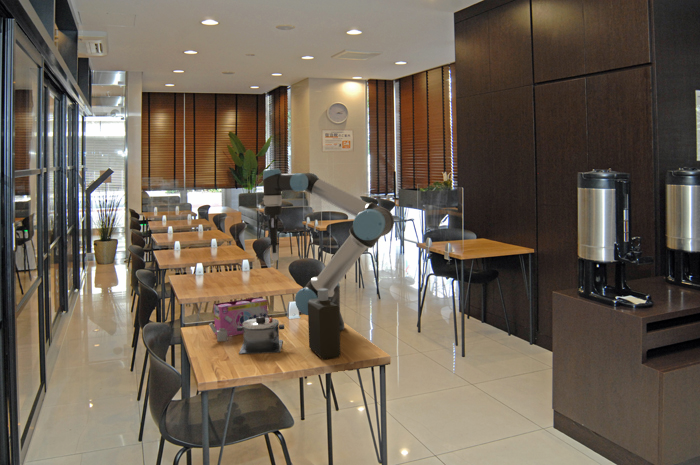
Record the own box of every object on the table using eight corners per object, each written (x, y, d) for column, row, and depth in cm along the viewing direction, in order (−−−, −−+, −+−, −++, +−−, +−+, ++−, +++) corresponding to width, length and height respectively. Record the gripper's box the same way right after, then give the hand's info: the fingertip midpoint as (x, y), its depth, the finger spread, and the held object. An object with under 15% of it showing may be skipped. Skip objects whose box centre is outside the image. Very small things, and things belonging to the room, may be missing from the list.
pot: (286, 339, 234) (285, 317, 233) (283, 352, 216) (282, 329, 215) (241, 340, 232) (240, 319, 232) (235, 354, 215) (234, 330, 214)
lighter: (227, 339, 235) (226, 321, 234) (227, 340, 233) (226, 322, 232) (210, 341, 233) (209, 322, 232) (210, 342, 231) (209, 323, 231)
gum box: (264, 324, 257) (263, 296, 256) (271, 328, 251) (270, 299, 249) (214, 333, 244) (212, 303, 243) (220, 338, 238) (219, 307, 236)
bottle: (321, 360, 205) (319, 294, 203) (308, 348, 220) (306, 286, 218) (341, 357, 208) (340, 292, 206) (327, 346, 223) (325, 284, 221)
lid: (280, 319, 231) (279, 312, 230) (277, 329, 216) (277, 321, 215) (245, 320, 230) (244, 313, 229) (240, 330, 215) (240, 322, 215)
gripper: (265, 204, 243) (267, 258, 245) (262, 206, 230) (264, 262, 233) (282, 204, 243) (284, 257, 246) (280, 206, 231) (282, 262, 233)
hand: (274, 260), depth 239 cm, fingers closed
